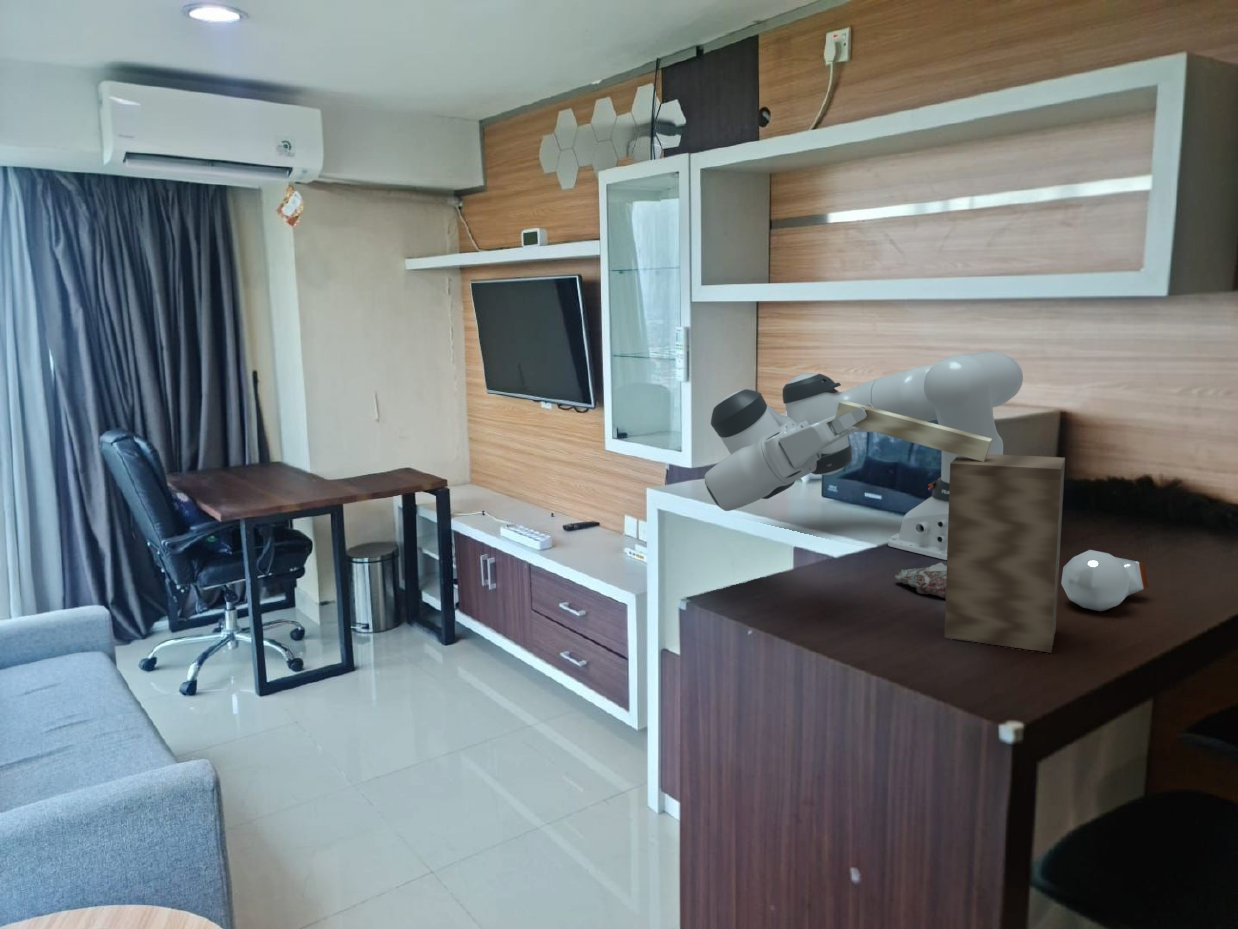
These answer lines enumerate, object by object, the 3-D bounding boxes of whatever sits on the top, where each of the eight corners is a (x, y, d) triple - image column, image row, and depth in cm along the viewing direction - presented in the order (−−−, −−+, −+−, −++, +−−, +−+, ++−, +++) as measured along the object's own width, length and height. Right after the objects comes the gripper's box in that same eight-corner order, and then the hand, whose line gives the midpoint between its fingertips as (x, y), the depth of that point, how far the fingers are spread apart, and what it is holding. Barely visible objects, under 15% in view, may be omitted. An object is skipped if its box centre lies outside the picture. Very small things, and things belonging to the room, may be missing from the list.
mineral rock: (888, 585, 151) (889, 561, 151) (922, 578, 155) (923, 554, 154) (953, 610, 138) (954, 584, 137) (989, 602, 142) (990, 576, 141)
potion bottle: (1065, 622, 135) (1115, 613, 143) (1121, 599, 128) (1171, 591, 136) (1038, 567, 139) (1089, 561, 147) (1091, 542, 131) (1142, 538, 139)
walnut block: (944, 638, 126) (950, 463, 122) (955, 617, 134) (961, 452, 130) (1051, 654, 119) (1061, 469, 115) (1055, 630, 128) (1065, 457, 123)
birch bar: (834, 421, 132) (839, 402, 131) (839, 418, 134) (844, 400, 133) (983, 461, 122) (989, 441, 121) (986, 458, 124) (992, 438, 124)
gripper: (821, 458, 146) (894, 419, 139) (781, 479, 128) (862, 437, 121) (803, 425, 146) (875, 385, 139) (760, 442, 129) (840, 398, 122)
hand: (869, 409), depth 130 cm, fingers closed on birch bar, 3 cm apart
